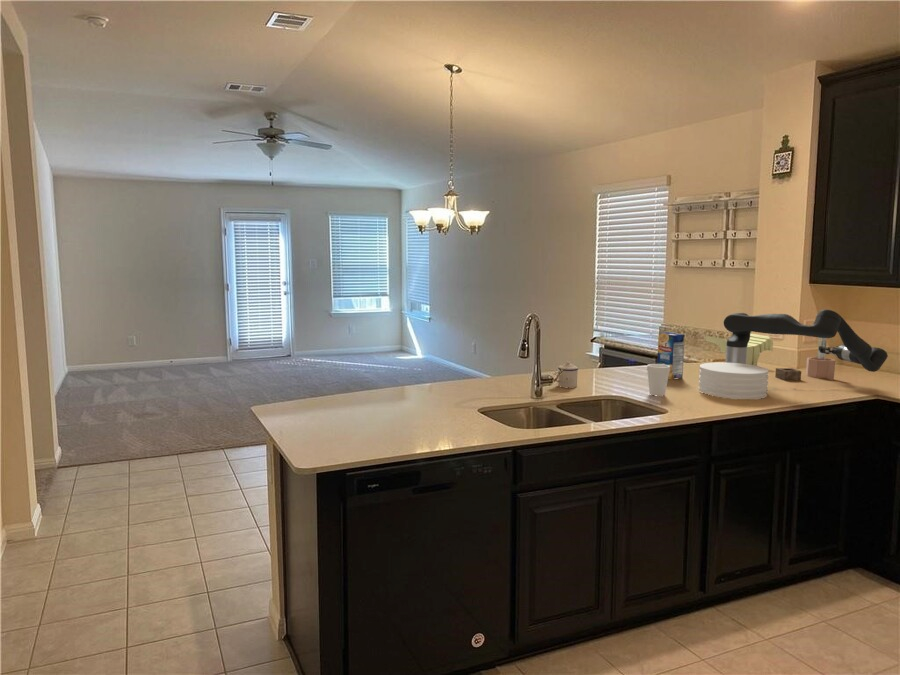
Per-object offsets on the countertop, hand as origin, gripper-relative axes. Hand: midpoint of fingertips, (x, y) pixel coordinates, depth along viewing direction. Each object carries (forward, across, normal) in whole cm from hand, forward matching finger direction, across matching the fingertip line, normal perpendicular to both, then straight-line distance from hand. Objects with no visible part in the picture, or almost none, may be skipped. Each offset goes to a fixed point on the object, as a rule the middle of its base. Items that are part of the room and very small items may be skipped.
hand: (828, 348), depth 308 cm
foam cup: (-31, -94, -17) cm, 100 cm away
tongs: (+4, 0, -15) cm, 15 cm away
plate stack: (-26, -59, -17) cm, 67 cm away
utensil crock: (+4, 0, -16) cm, 16 cm away
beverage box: (+10, -74, -17) cm, 76 cm away
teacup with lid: (-12, -131, -17) cm, 133 cm away
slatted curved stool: (+32, -28, -16) cm, 46 cm away
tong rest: (-3, -20, -16) cm, 26 cm away
